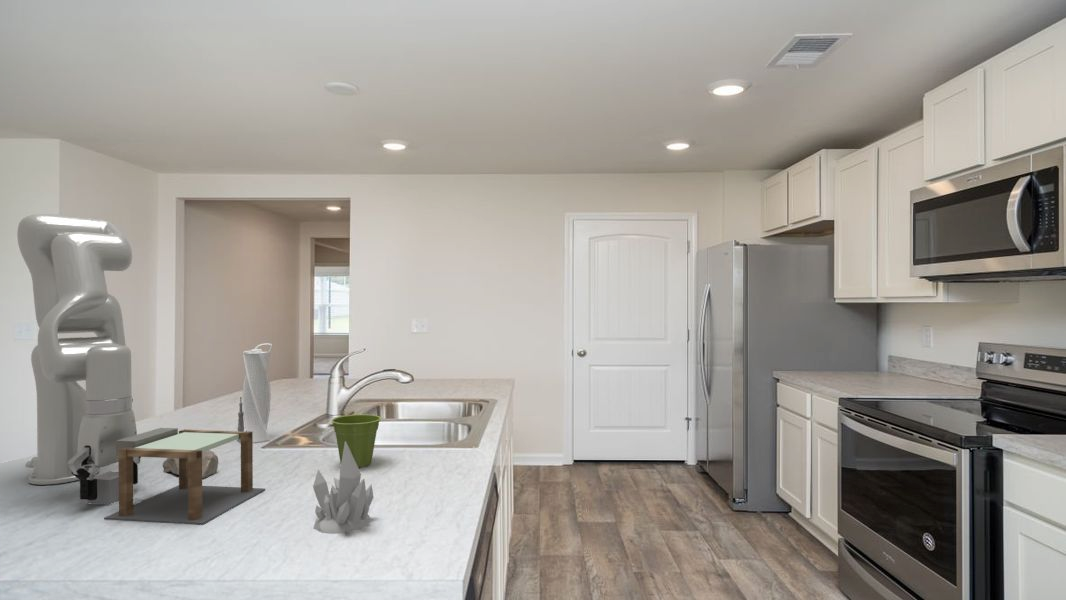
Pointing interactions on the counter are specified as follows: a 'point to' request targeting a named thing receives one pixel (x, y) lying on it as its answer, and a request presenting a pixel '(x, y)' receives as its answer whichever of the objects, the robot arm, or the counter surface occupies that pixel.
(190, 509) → the frame
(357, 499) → the crystal
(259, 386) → the skyscraper
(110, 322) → the robot arm
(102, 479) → the stone block
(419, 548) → the counter surface
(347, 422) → the plant pot
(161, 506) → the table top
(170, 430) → the trapdoor
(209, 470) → the concrete fragment
